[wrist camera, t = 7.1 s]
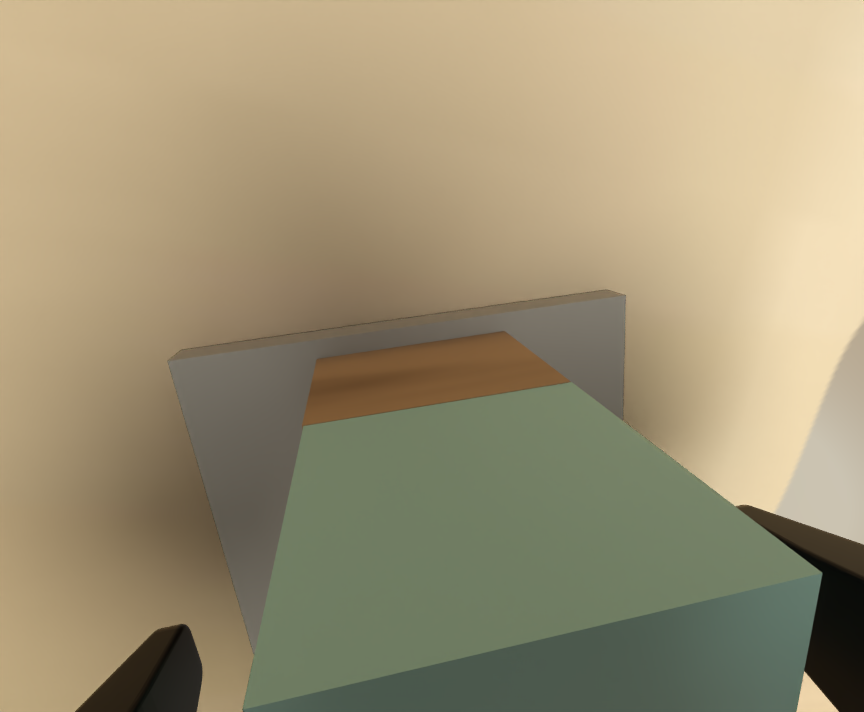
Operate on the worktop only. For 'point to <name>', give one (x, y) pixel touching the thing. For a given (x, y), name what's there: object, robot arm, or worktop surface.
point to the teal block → (521, 571)
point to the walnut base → (423, 376)
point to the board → (289, 389)
